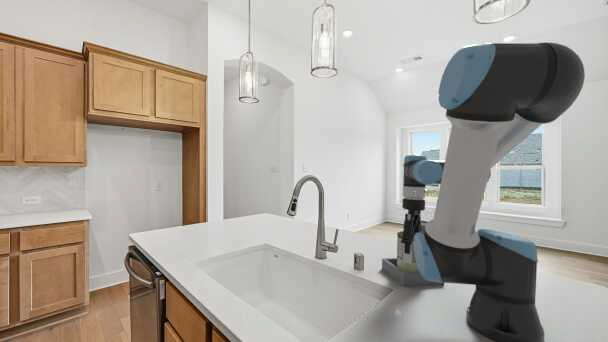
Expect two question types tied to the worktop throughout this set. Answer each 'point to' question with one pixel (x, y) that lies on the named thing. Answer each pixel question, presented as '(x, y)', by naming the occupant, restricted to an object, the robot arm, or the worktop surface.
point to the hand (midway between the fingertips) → (411, 257)
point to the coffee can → (400, 264)
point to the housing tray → (404, 274)
